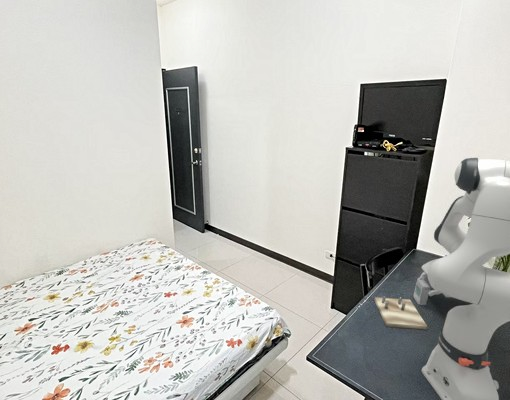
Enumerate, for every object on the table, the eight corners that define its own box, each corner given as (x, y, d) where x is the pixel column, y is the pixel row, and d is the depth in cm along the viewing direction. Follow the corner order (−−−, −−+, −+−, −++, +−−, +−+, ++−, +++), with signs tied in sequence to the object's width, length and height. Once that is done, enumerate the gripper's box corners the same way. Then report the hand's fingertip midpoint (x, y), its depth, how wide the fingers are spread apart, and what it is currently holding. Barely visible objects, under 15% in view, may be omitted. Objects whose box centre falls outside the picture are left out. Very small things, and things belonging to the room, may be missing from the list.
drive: (425, 305, 125) (430, 287, 122) (418, 304, 125) (422, 286, 122) (420, 297, 130) (424, 279, 127) (413, 296, 130) (416, 279, 128)
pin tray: (426, 329, 111) (429, 320, 110) (386, 326, 112) (388, 316, 111) (409, 302, 126) (411, 293, 125) (374, 300, 127) (375, 291, 126)
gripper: (435, 252, 131) (409, 269, 135) (461, 278, 112) (430, 297, 115) (443, 261, 132) (417, 278, 136) (471, 288, 113) (439, 307, 117)
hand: (423, 287), depth 126 cm, fingers open, 8 cm apart
